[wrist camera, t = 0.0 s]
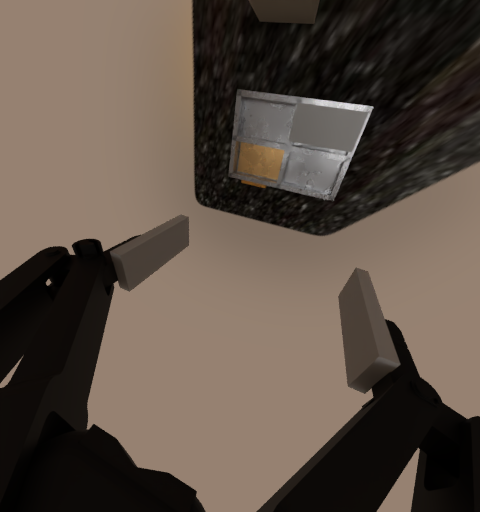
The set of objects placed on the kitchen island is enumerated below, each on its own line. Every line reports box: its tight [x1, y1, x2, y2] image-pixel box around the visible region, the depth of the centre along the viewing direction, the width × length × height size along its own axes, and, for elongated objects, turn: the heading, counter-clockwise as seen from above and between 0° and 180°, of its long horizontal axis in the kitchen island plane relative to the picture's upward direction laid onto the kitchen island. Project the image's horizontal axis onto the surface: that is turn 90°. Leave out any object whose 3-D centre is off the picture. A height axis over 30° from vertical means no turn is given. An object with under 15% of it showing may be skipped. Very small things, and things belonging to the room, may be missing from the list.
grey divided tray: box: [228, 89, 373, 201], centre depth 34 cm, size 14×20×3 cm
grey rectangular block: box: [288, 103, 369, 152], centre depth 27 cm, size 4×8×10 cm, turn 81°
